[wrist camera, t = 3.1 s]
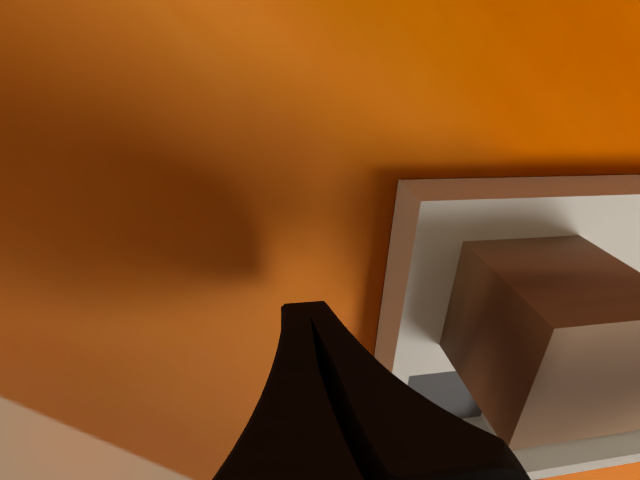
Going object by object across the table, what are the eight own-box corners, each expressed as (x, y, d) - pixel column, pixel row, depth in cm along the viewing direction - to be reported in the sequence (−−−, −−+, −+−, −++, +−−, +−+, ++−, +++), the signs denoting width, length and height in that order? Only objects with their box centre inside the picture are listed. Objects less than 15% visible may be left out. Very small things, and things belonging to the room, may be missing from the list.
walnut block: (542, 334, 17) (637, 430, 13) (439, 344, 16) (506, 450, 12) (579, 235, 15) (707, 313, 11) (462, 241, 14) (554, 329, 10)
